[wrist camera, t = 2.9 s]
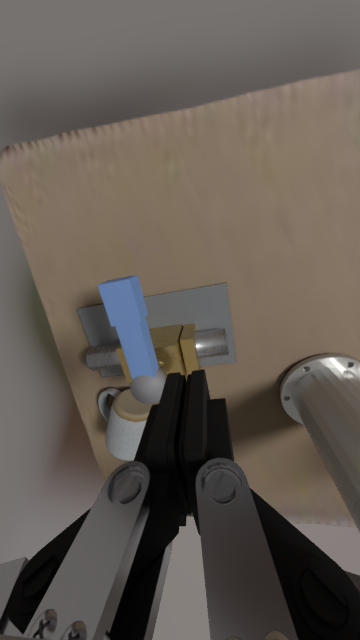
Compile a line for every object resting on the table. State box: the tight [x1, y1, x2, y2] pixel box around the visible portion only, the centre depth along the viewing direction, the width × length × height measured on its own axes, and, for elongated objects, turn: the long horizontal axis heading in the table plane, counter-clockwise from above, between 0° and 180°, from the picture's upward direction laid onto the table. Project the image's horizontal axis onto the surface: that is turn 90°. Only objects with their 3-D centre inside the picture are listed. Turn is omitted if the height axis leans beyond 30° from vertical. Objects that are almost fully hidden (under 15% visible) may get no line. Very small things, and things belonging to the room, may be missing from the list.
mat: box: [77, 283, 237, 377], centre depth 32 cm, size 22×12×1 cm, turn 102°
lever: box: [98, 275, 167, 404], centre depth 22 cm, size 4×13×2 cm, turn 11°
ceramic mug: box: [98, 388, 158, 461], centre depth 34 cm, size 11×8×8 cm
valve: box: [86, 323, 229, 383], centre depth 29 cm, size 20×6×8 cm, turn 102°
